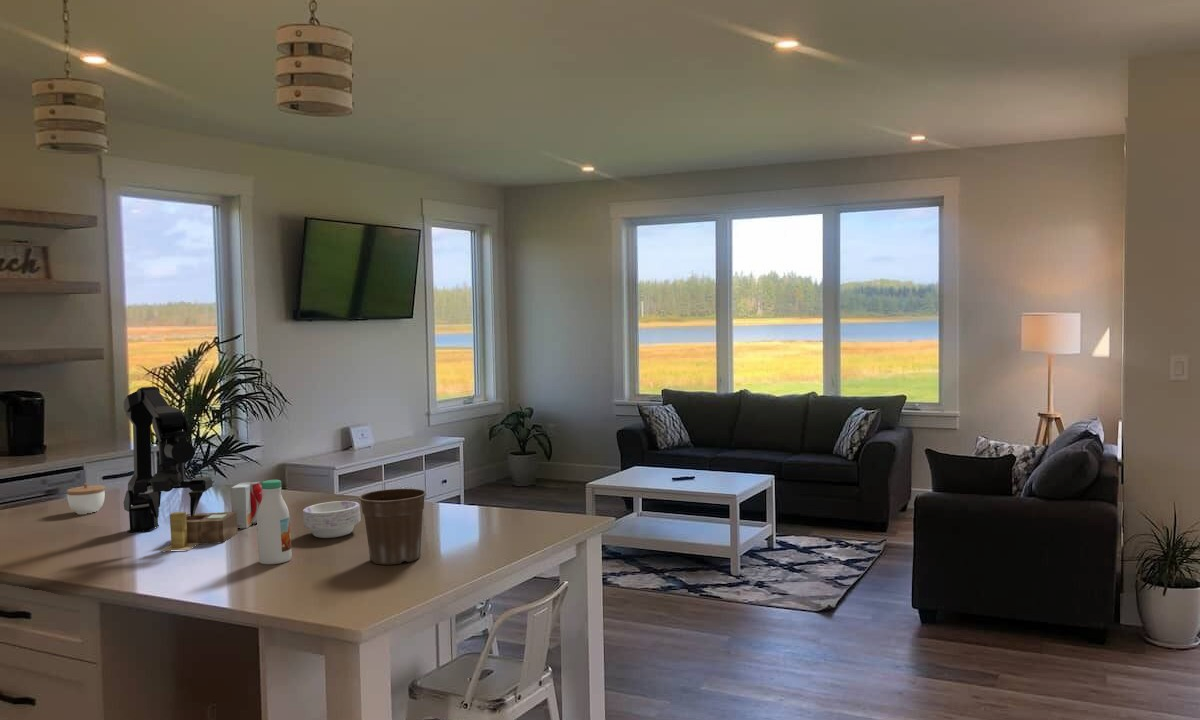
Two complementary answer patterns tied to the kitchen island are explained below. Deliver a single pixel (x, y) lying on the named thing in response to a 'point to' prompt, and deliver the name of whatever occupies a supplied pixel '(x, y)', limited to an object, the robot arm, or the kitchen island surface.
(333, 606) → the kitchen island surface
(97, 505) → the lidded jar
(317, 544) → the kitchen island surface
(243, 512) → the skincare box
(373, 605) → the kitchen island surface
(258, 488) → the soda can
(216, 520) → the block
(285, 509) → the milk bottle
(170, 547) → the pad
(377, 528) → the plant pot
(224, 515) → the on button
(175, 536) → the square wooden peg
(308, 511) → the paper bowls
